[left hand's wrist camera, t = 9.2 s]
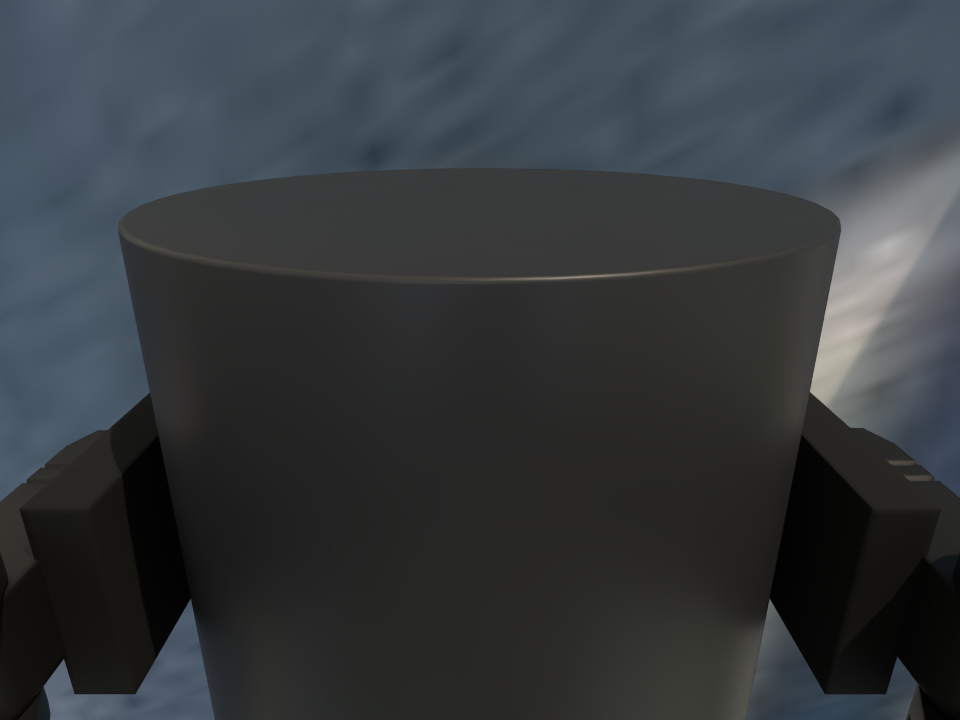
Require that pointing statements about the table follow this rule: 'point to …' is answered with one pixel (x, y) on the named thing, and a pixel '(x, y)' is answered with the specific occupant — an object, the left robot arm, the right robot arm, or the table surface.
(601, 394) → the rod
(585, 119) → the table surface
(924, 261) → the table surface
